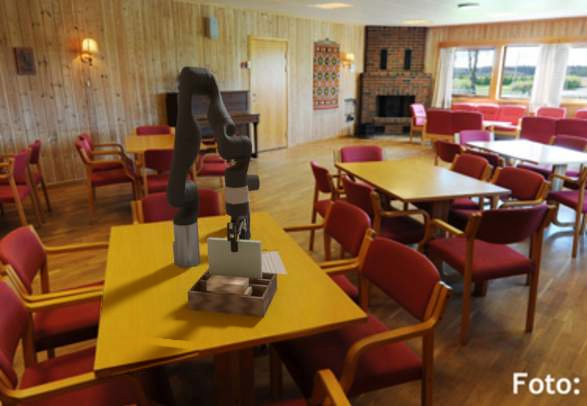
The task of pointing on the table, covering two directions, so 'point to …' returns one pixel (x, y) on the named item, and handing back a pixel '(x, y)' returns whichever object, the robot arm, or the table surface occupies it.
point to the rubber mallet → (252, 186)
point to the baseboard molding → (272, 263)
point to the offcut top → (227, 284)
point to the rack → (234, 297)
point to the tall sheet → (235, 258)
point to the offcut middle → (247, 293)
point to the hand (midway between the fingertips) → (238, 246)
